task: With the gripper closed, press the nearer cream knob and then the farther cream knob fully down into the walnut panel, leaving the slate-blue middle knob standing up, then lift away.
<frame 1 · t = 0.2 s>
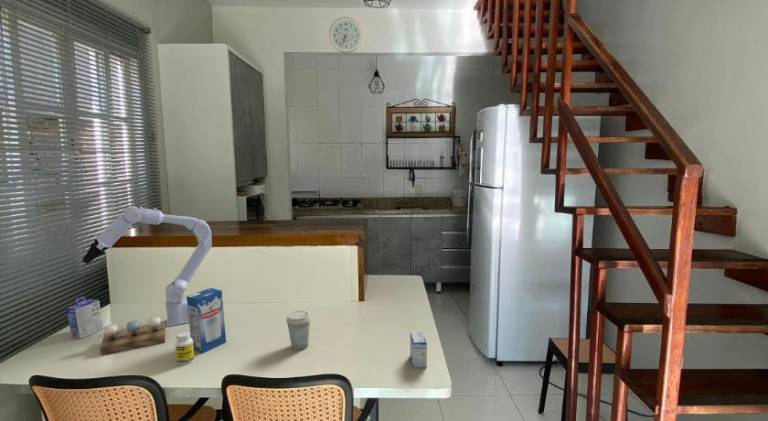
hand: (86, 259, 157), 31 cm above the table, tool tilted 45°, fingers open, 7 cm apart
knob panel: (135, 342, 157), on the table
knob 2: (154, 324, 159), point 5 cm above the table, slide at 0.0 cm
knob 1: (111, 332, 153), point 5 cm above the table, slide at 0.0 cm
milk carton: (209, 346, 153), on the table
ink cartridge box: (87, 333, 166), on the table
middle knob: (133, 328, 156), point 5 cm above the table, slide at 0.0 cm
supplement bottle: (186, 361, 142), on the table
medicine box: (418, 362, 139), on the table
coffee cup: (300, 346, 151), on the table
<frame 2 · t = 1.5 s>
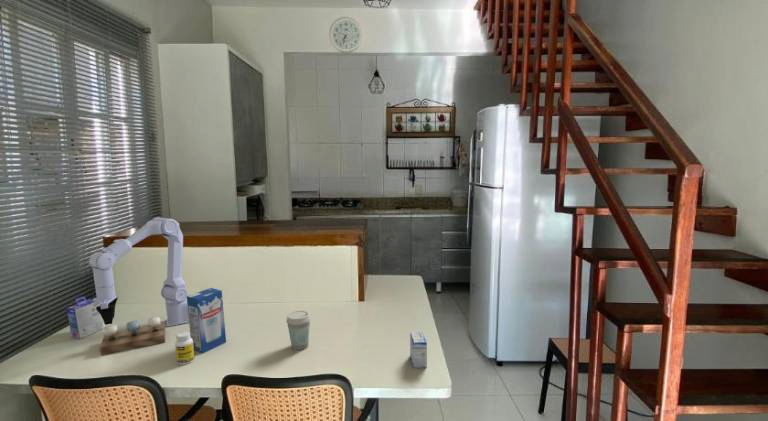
hand: (109, 321, 152), 10 cm above the table, tool pointing down, fingers open, 5 cm apart
nothing on the table moved.
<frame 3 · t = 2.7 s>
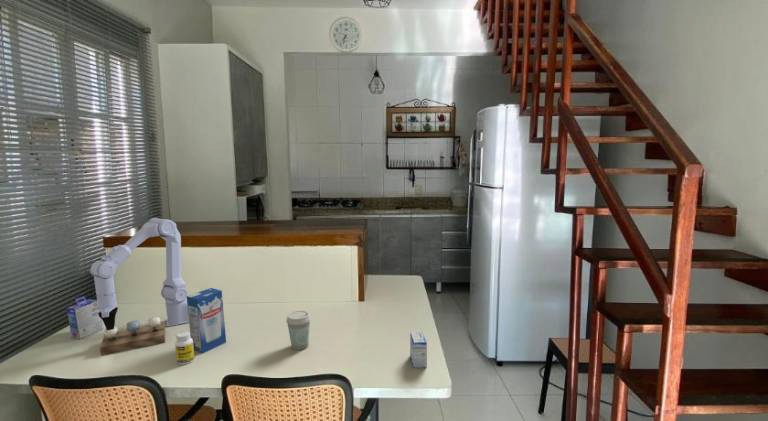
hand: (110, 329, 153), 7 cm above the table, tool pointing down, fingers closed, pressing on knob 1
knob 1: (111, 334, 153), point 5 cm above the table, slide at 0.8 cm, touching gripper
everything else where it was.
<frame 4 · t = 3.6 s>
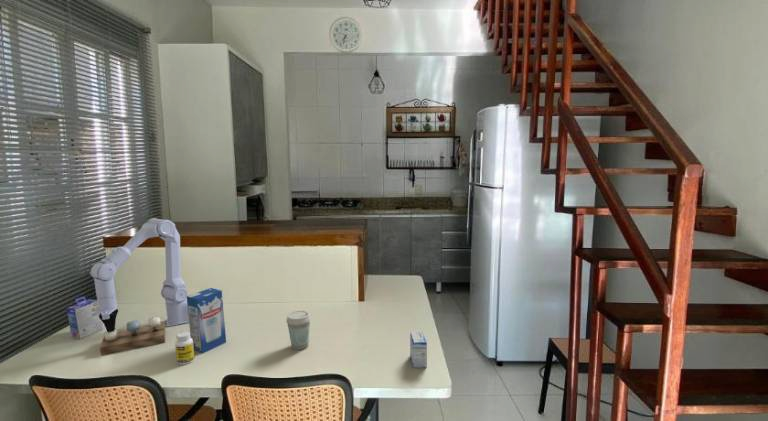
hand: (111, 331, 153), 6 cm above the table, tool pointing down, fingers closed
knob 1: (111, 337, 153), point 3 cm above the table, slide at 2.1 cm
everything else where it was.
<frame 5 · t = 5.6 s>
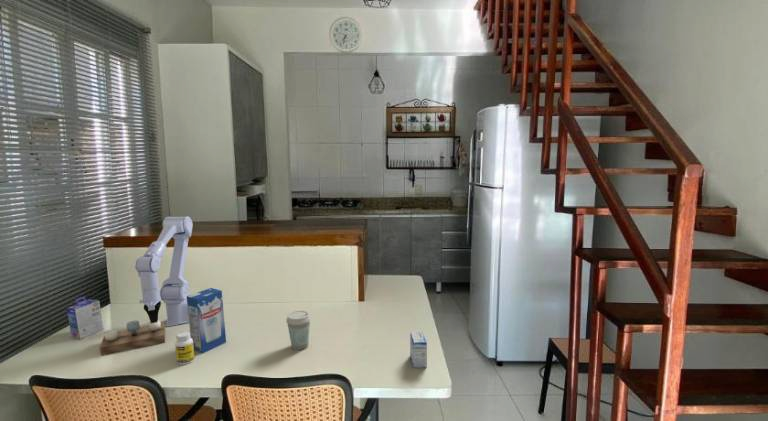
hand: (154, 322, 159), 6 cm above the table, tool pointing down, fingers closed, pressing on knob 2
knob 2: (155, 327, 160), point 4 cm above the table, slide at 1.2 cm, touching gripper
everything else where it was.
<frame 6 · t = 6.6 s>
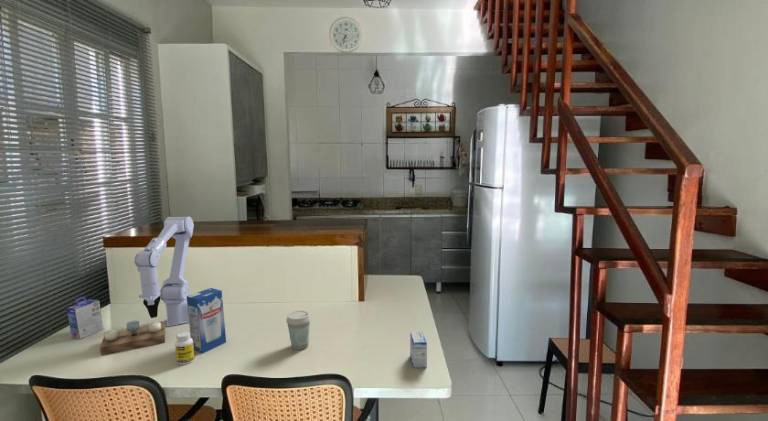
hand: (153, 317, 159), 8 cm above the table, tool pointing down, fingers closed
knob 2: (155, 329, 160), point 3 cm above the table, slide at 2.1 cm
everything else where it was.
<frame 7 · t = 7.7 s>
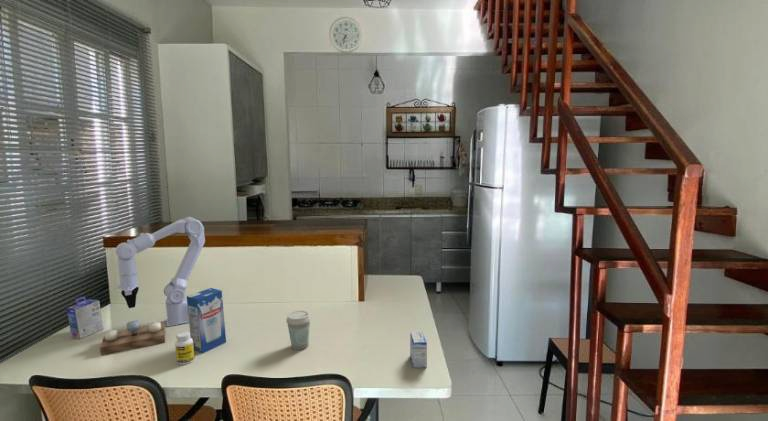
hand: (132, 307, 164), 10 cm above the table, tool pointing down, fingers closed
nothing on the table moved.
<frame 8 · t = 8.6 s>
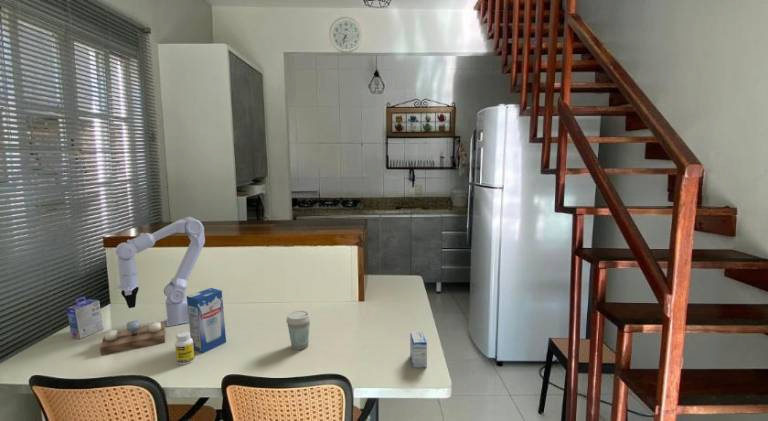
hand: (132, 307, 164), 10 cm above the table, tool pointing down, fingers closed
nothing on the table moved.
at the end: knob 1 slide at 2.1 cm; knob 2 slide at 2.1 cm; middle knob slide at 0.0 cm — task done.
